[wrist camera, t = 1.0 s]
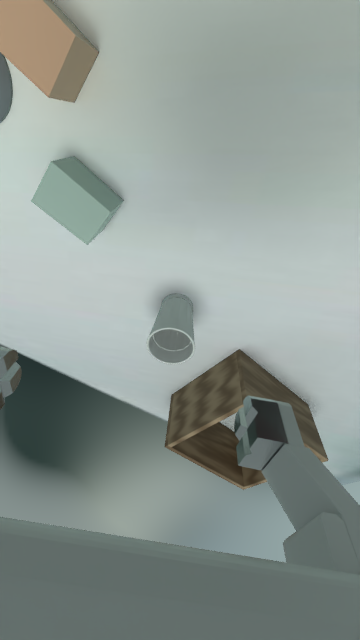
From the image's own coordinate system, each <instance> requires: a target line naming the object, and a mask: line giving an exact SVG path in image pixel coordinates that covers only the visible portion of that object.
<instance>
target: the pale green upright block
mask: <svg viewBox="0 0 360 640" xmlns="http://www.w3.org/2000/svg"><path fill="white" fill-rule="evenodd" d="M31 202H33V203H34V204H35V205H37V206H38V207H39V208H40V209H42V210H43V211H44V212H46V213H47V214H48V215H49V216H51V217H52V218H53V219H55V220H56V221H57V222H58V223H60V224H61V225H62V226H64V227H65V228H66V229H67V230H69V231H70V232H71V233H73V234H74V235H75V236H76V237H78V238H79V239H80V240H82V241H83V242H84V243H85V244H87V245H88V244H89V243H90V242H91V241H92V240H93V239H94V238H95V237H96V236H97V235H98V234H99V233H100V232H102V231H103V229H104V228H105V226H106V225H107V224H108V222H109V221H110V219H111V218H112V217H113V215H114V214H115V212H116V211H117V210H118V208H119V207H120V205H121V204H122V203H123V200H122V199H121V198H120V197H119V196H118V195H117V194H116V193H115V192H113V191H112V190H111V189H110V188H109V187H108V186H107V185H106V184H104V183H103V182H102V181H101V180H100V179H99V178H98V177H97V176H96V175H94V174H93V173H92V172H91V171H90V170H89V169H88V168H87V167H85V166H84V165H83V164H82V163H81V162H80V161H79V160H78V159H76V158H75V157H69V158H65V159H60V160H55V161H51V163H50V165H49V167H48V169H47V171H46V173H45V175H44V177H43V179H42V181H41V183H40V185H39V187H38V189H37V191H36V193H35V195H34V197H33V199H32V201H31Z"/></svg>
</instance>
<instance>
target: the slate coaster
mask: <svg viewBox="0 0 360 640" xmlns="http://www.w3.org/2000/svg"><path fill="white" fill-rule="evenodd" d="M11 103H12V81H11V75H10V71H9V68H8V65H7V62H6V59H5V57H4V55H3V54H2V53H1V52H0V123H1V122H2V121H3V120H4V119H5V118H6V116H7V115H8V113H9V110H10V107H11Z"/></svg>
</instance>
